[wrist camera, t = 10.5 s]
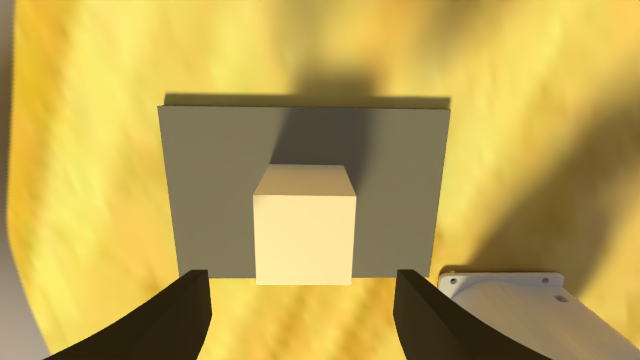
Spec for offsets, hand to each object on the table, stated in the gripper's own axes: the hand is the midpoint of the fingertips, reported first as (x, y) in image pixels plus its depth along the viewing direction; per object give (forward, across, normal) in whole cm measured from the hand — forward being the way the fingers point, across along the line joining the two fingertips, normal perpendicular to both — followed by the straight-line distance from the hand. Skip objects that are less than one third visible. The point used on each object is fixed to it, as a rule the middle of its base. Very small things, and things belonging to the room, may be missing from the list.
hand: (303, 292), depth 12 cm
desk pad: (+10, 0, 0) cm, 10 cm away
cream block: (+10, 0, 0) cm, 10 cm away
